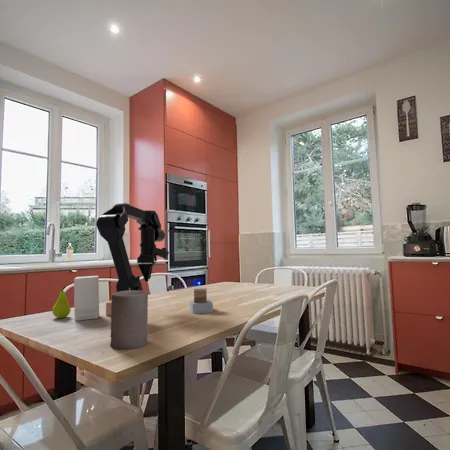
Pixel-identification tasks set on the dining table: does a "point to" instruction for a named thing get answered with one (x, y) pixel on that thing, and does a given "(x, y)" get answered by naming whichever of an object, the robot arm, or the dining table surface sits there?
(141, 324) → the pillar candle
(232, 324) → the dining table surface
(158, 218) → the robot arm
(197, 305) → the slate slab
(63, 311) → the fruit
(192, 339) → the dining table surface
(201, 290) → the walnut cube
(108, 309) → the terracotta cube
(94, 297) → the skincare box
